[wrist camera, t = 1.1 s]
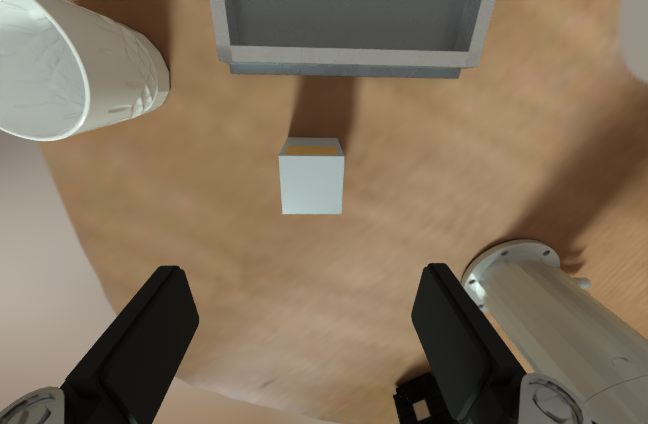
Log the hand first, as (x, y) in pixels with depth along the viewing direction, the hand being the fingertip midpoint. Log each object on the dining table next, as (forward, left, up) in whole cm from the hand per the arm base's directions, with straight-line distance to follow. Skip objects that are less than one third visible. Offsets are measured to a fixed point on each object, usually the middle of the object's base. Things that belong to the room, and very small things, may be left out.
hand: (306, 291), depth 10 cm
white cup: (+16, -8, -19) cm, 26 cm away
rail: (-3, -13, -18) cm, 23 cm away
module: (0, 0, -18) cm, 18 cm away
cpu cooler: (-20, +43, -19) cm, 51 cm away
